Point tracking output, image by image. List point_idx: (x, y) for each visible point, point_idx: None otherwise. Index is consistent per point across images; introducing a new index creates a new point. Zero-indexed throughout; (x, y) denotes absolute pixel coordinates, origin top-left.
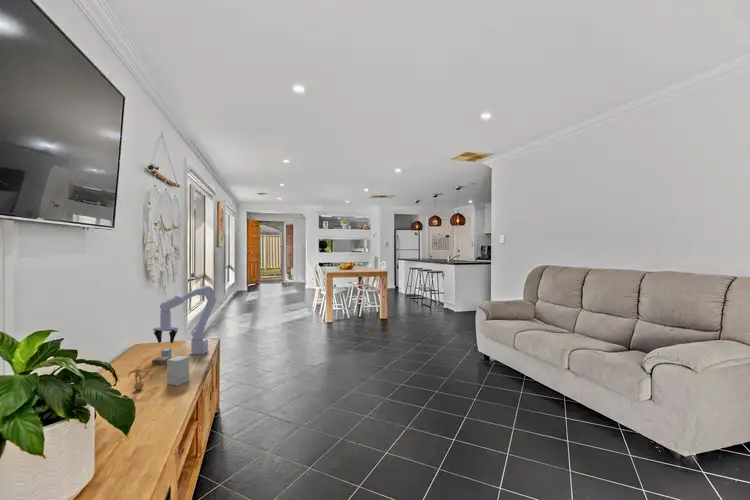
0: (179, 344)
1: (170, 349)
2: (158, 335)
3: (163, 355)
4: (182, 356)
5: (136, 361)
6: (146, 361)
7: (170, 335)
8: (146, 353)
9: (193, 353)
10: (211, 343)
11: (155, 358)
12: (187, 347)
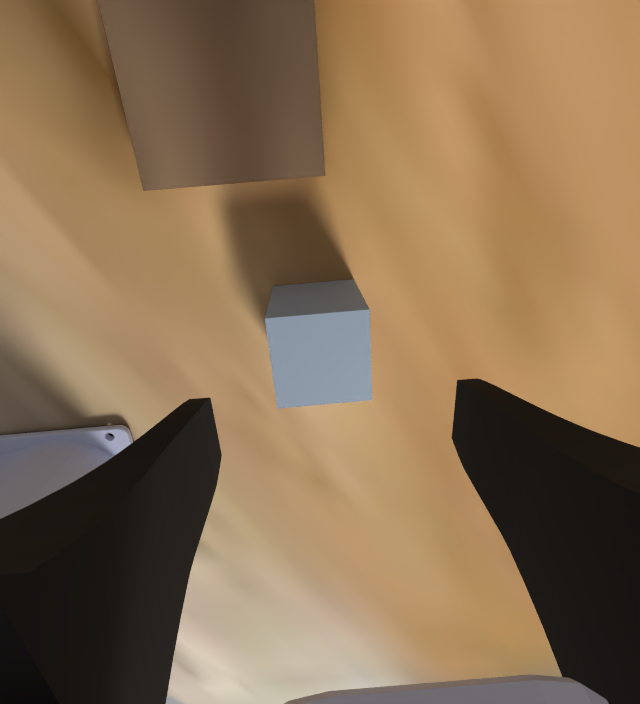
0: (431, 647)
1: (274, 382)
2: (571, 487)
3: (331, 291)
4: None
5: (613, 129)
6: (477, 139)
7: (90, 504)
8: (616, 423)
9: (71, 441)
10: (174, 688)
11: (316, 62)
12: (309, 597)
